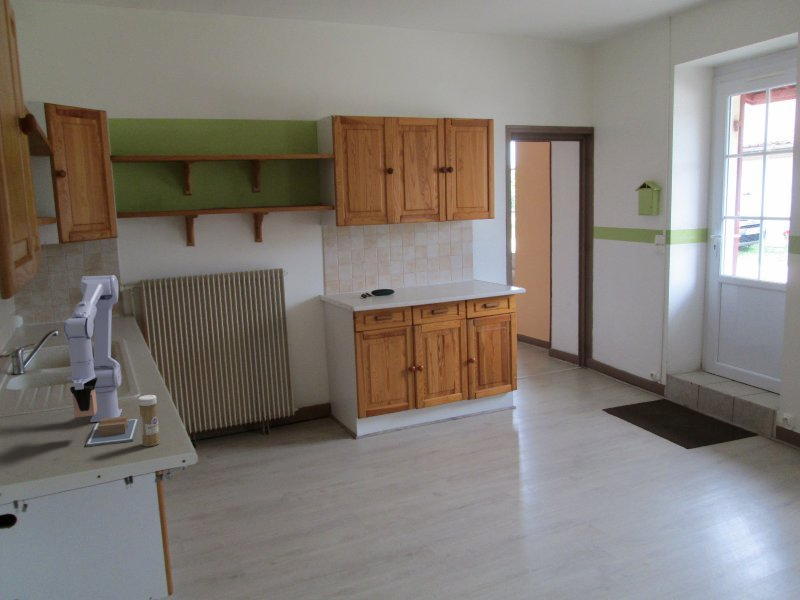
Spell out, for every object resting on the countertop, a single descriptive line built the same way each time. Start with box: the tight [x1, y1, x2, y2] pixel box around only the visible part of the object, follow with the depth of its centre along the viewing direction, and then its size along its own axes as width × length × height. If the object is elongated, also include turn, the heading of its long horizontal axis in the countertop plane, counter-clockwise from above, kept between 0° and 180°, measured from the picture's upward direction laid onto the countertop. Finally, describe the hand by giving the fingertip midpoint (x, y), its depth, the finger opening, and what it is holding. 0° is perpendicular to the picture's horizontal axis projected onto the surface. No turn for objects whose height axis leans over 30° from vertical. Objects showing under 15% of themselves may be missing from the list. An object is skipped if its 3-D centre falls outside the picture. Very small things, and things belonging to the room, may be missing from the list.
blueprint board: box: [85, 418, 140, 448], centre depth 189 cm, size 18×12×1 cm, turn 17°
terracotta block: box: [72, 390, 97, 418], centre depth 185 cm, size 5×5×6 cm
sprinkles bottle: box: [138, 394, 161, 447], centre depth 179 cm, size 5×5×14 cm
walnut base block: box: [98, 415, 129, 437], centre depth 189 cm, size 7×7×3 cm
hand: (86, 407), depth 185 cm, fingers closed on terracotta block, 5 cm apart
